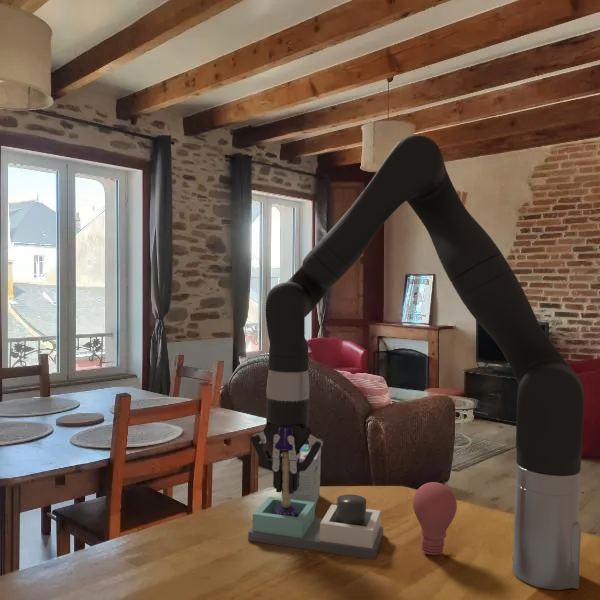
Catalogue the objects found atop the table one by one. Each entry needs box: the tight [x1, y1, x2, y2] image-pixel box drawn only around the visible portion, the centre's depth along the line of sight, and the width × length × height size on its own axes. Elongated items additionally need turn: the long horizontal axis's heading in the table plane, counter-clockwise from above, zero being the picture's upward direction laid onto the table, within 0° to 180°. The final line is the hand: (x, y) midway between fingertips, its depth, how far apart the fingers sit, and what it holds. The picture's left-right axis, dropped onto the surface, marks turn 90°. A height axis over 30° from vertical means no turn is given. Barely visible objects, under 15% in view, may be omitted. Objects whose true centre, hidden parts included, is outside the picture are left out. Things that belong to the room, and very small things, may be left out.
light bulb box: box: [290, 443, 322, 509], centre depth 122 cm, size 11×7×11 cm, turn 172°
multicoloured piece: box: [247, 494, 385, 560], centre depth 106 cm, size 22×10×8 cm, turn 74°
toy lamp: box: [275, 426, 298, 517], centre depth 107 cm, size 5×5×17 cm
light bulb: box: [412, 481, 458, 556], centre depth 100 cm, size 7×7×12 cm
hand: (285, 491), depth 107 cm, fingers closed on toy lamp
